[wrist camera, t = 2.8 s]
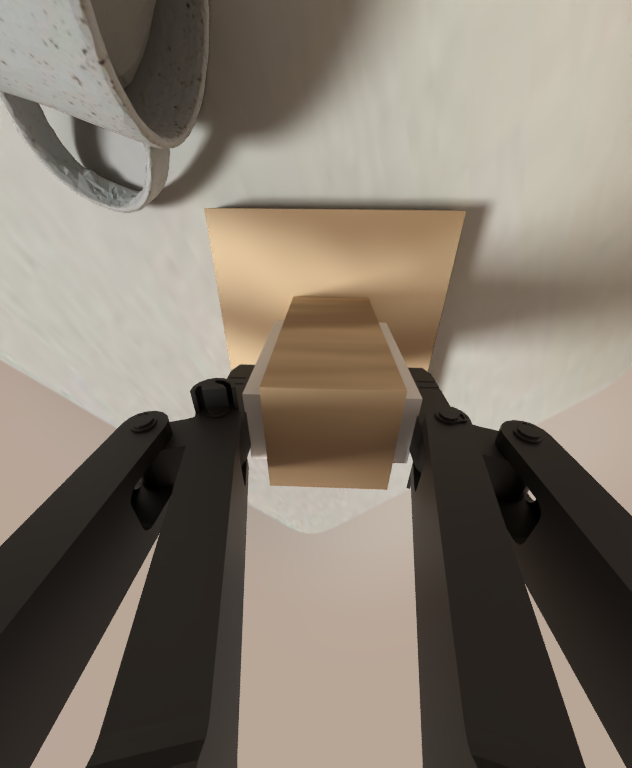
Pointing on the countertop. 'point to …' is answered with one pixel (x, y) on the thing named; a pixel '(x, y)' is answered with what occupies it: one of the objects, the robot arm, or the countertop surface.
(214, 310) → the countertop surface
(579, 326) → the countertop surface
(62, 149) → the ceramic mug
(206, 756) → the robot arm
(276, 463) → the wooden plaque with block
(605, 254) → the countertop surface
